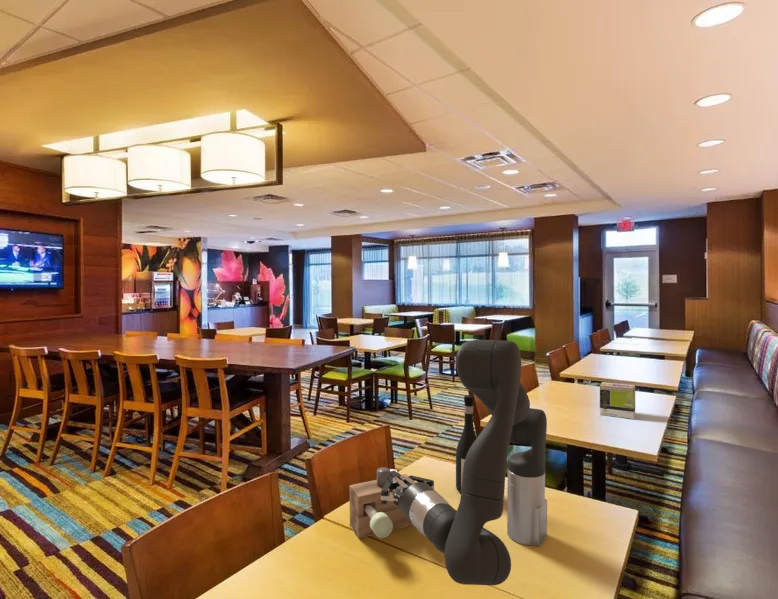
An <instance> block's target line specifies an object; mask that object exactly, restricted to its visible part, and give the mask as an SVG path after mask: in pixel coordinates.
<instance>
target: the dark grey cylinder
mask: <svg viewBox="0 0 778 599" xmlns="http://www.w3.org/2000/svg"><path fill="white" fill-rule="evenodd" d="M390 469H391V468H388V467H383V466H382V467H379V468H377V469H376V480H377V486H378V487H381V488H383V486H384V485H385V483H386V481H387V474H388V472H389V471H390Z"/></svg>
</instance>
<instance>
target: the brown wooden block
mask: <svg viewBox="0 0 778 599" xmlns="http://www.w3.org/2000/svg"><path fill="white" fill-rule="evenodd" d="M401 475H402V476H405V477H406V478H409V476H410V475H408V474H407V473H403V474H401ZM348 489H349V526H350V528H351V530H352V531H353V532H354V534H355V535H356V537H357V538H358V539H363V538H367V537H370V536H376V535H375V533H374V532H373V531H372V529H371V527H370V520H371V518H370V517H369V516H368V515H367V513H366V512H365V511H364V509H363V504H367V503H370V504H371V505H372V506H373V508H374V509H375V510H376V511H377V513H378V512H383V513H385V514H386V515H387V516H388V517H389V519H390V520H391V521H392V523H393V529H392V531H395V530H398V529H403V528H405V527H406V528H407V527H411V526H414V525H413V524H412V523H411V522H410V521H409V520H408V519H407V518H406V516H405V515H404V514H403V512H402V510H401V508H400V507H399V506H397V505H395V504H394V503H393V501H387V503H386V504H382V503H381V490H382V488H381V487H378V486H377V479H375V480H369V481H364V482H359V483H354V484H349V488H348ZM394 492H395V491H394V490H392V494H394Z"/></svg>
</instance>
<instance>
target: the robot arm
mask: <svg viewBox="0 0 778 599" xmlns="http://www.w3.org/2000/svg"><path fill="white" fill-rule="evenodd" d="M455 367H456V372H457V376H458V378H459V380H460V382H461V383H462V386H464V388H465V389H466V390H468V391H469V392H471V394H473V395H474V396H476V398H478V400H479V401H480V402H481V403H482V404H483V405H484V407H485V408H486V409H487V411H488V412H489V414H490V415H491V417H489V420H488V422H487V423H486V424H485V426H484V427H483V429H482V430H481V432H480V433H479V434H478V436H476V437H477V438H476V440H475V441H474V443H473V444H472V446H471V447H470V449H469V451H468V453H467V455H466V458H465V462H464V467H463V476H462V486H461V492H462V493H460V500H459V503H458V507H457V510H456V508H454V507H453V506H451V505H450V502H448V501H447V500H446V499H445V498H444V497H443V496H442V495H441V494H440V493H439V492H438V491H436V490H435V481H434V479H429V478H425V477H419V476H415V475H408V476H409V478H406V477H405V476H402V475H403V474H401V473H399V472H398V471H397V472H396V471H389V472H388V474H387V481H386V483H385V485H384V486H383V488H382V490H381V503H382V504H386V503H387V501H393V503H394V504H395V505H397V506H399V507H400V508H401V510H402V512H403V514H404V515H405V516H406V518H407V519H408V520H409V521H410V522H411V523H412V524H413V525H412V526H414V528H416V530H417V531H418V532H419V533H420V534H422V535H423V536H424V537H426V538H427V540H429V542H430V543H431V544H432V545H433V546H434V547H435V548H436V549H437V550H438V551H439V552H441V553H442V554H443V555H444V556H443V557H444V564H445V568H446V571H447V573H448V575H449V577H450V578H451V579H452V580H453V581H454V583H457V584H459V585H460V584H461V585H466V586H467V585H468V586H498V585H501V584H503V583H505V581H506V580H508V578H509V576H510V574H511V570H512V561H511V555H510V552H509V550H508V548H507V546H506V545H505V542H503V540H501V538H500V537H498V536H497V534H495V533H493V532H492V531H490V530H488V529H487V528H484V526H485V524H487V523H488V522H491V521H496V520H499V519H500V518H501V517H502V515H503V512H504V502H505V501H504V499H505V485H506V470H507V493H506V494H507V503H506V504H507V507H506V508H507V515H506V516H507V517H506V521H507V522H506V528H507V529H506V532H507V535H508V537H509V539H511V540H512V541H514V542H516V543H518V544H521V545H526V546H537V547H541V546H542V544H543V543H544V541H545V540H546V538H547V537H548V500H547V499H546V444H547V442H546V441H547V430H548V429H547V428H548V423H547V421H548V419H547V415H546V412H545V411H544V410H542V409H540V408H532V407H531V406H530V405H531V403H530V398H529V395H528V393H527V391H526V389H525V387H524V386H523V384H522V383H521V376H522V356H521V351H520V348H519V345H518V344H517V343H516V342H515V341H513V340H500V339H499V340H497V339H496V340H495V339H471V340H467V341H465V342H463V343H462V344H461V345H460V346H459V348H458V350H457V352H456V357H455ZM510 443H513V444H518V445H525V446H530V447H531V448H530V449H528V450H525V451H519V452H516V453H512V454H511V455H509V457H508V453H509V452H508V451H509V446H510ZM392 490H394V491H395V492H394V494H392Z"/></svg>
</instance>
